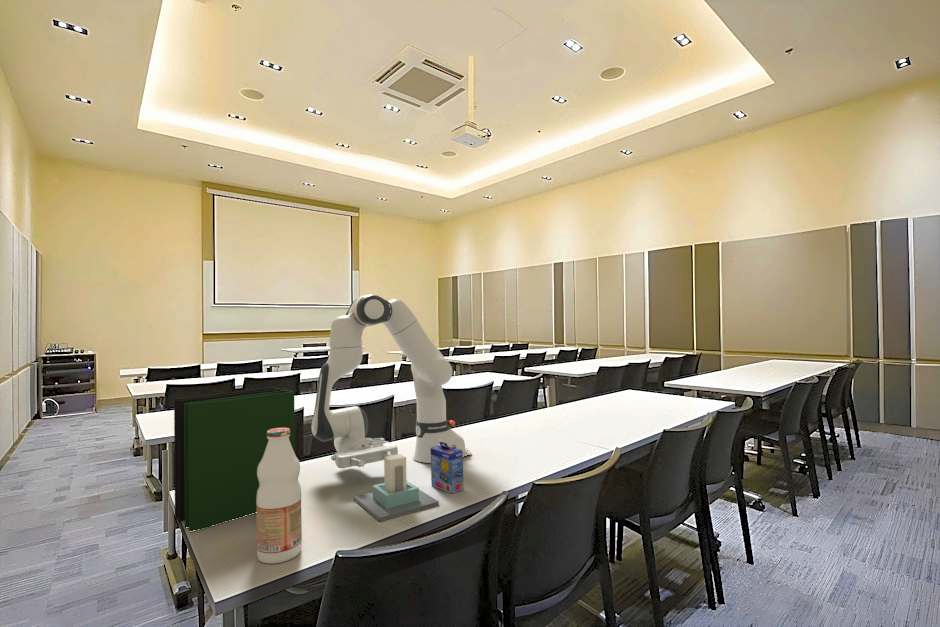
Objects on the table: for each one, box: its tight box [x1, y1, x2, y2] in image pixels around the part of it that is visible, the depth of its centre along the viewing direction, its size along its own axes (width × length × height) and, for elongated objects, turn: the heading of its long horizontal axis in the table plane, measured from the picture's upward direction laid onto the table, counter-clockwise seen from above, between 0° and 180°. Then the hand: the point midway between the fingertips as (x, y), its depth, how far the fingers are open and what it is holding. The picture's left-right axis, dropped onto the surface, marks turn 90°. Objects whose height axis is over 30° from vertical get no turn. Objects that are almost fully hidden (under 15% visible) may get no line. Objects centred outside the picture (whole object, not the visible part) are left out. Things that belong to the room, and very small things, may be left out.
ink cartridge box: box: [430, 442, 465, 494], centre depth 144 cm, size 10×6×14 cm, turn 44°
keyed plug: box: [383, 453, 407, 494], centre depth 132 cm, size 5×5×12 cm
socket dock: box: [353, 479, 440, 522], centre depth 133 cm, size 18×18×4 cm
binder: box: [173, 386, 296, 532], centre depth 130 cm, size 27×15×32 cm, turn 137°
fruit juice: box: [256, 428, 303, 565], centre depth 104 cm, size 9×9×28 cm
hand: (376, 461), depth 144 cm, fingers open, 8 cm apart
